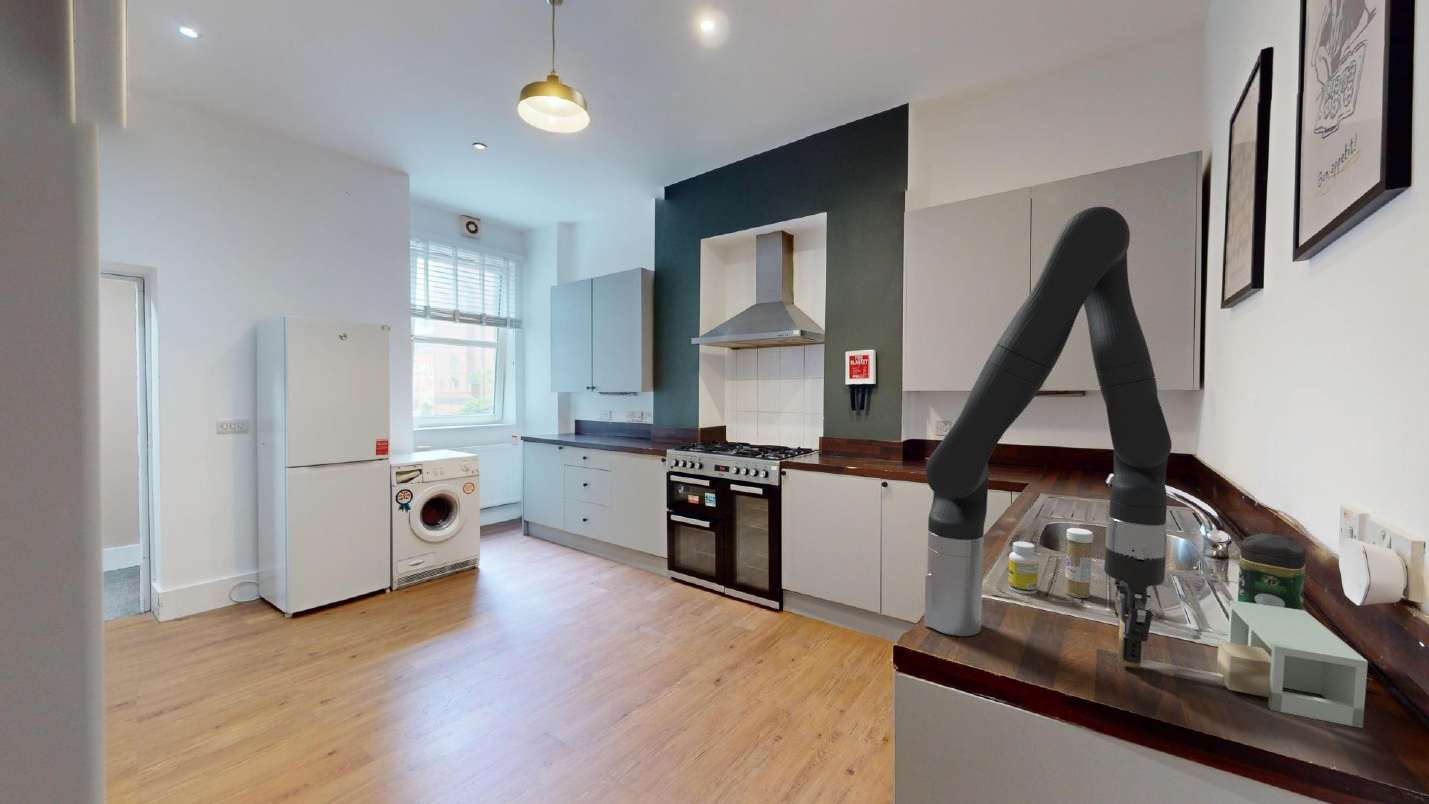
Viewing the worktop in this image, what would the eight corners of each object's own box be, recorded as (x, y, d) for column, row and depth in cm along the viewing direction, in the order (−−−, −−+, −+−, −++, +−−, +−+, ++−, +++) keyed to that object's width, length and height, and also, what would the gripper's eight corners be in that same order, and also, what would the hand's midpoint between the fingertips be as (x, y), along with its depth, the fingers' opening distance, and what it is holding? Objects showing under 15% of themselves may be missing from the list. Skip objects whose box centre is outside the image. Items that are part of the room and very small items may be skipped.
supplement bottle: (1009, 583, 124) (1010, 538, 124) (1037, 588, 122) (1039, 542, 121) (1007, 591, 120) (1008, 545, 119) (1036, 597, 117) (1038, 549, 116)
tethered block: (1120, 668, 88) (1123, 620, 87) (1114, 653, 93) (1117, 608, 92) (1274, 698, 80) (1278, 646, 80) (1259, 680, 85) (1263, 631, 84)
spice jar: (1059, 590, 120) (1061, 527, 119) (1079, 589, 121) (1082, 526, 120) (1075, 599, 116) (1077, 534, 115) (1096, 598, 116) (1098, 533, 115)
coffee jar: (1239, 628, 103) (1245, 526, 102) (1302, 644, 97) (1309, 536, 96) (1230, 646, 97) (1237, 537, 95) (1297, 664, 91) (1305, 549, 89)
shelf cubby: (1271, 709, 79) (1275, 646, 78) (1226, 653, 94) (1230, 600, 93) (1362, 728, 75) (1367, 661, 74) (1300, 666, 90) (1304, 610, 89)
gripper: (1098, 532, 96) (1093, 632, 97) (1114, 558, 84) (1107, 672, 85) (1153, 538, 93) (1147, 641, 94) (1178, 566, 80) (1171, 685, 82)
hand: (1128, 655), depth 90 cm, fingers closed on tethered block, 2 cm apart
